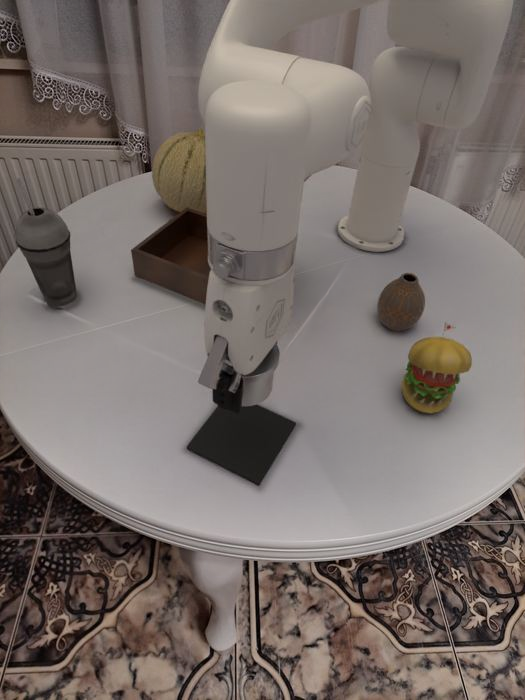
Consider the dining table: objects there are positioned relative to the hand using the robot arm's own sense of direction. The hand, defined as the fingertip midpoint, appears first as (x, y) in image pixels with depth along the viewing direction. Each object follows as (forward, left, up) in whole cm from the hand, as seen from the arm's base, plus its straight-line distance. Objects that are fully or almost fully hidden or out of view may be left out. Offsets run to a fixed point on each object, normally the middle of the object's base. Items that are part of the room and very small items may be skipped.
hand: (245, 382), depth 56 cm
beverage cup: (-8, -37, -11) cm, 39 cm away
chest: (-26, -22, -11) cm, 36 cm away
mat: (0, 0, -11) cm, 11 cm away
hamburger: (-18, +18, -11) cm, 28 cm away
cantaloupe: (-42, -35, -11) cm, 56 cm away
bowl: (0, 0, 0) cm, 0 cm away
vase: (-31, +10, -11) cm, 34 cm away
